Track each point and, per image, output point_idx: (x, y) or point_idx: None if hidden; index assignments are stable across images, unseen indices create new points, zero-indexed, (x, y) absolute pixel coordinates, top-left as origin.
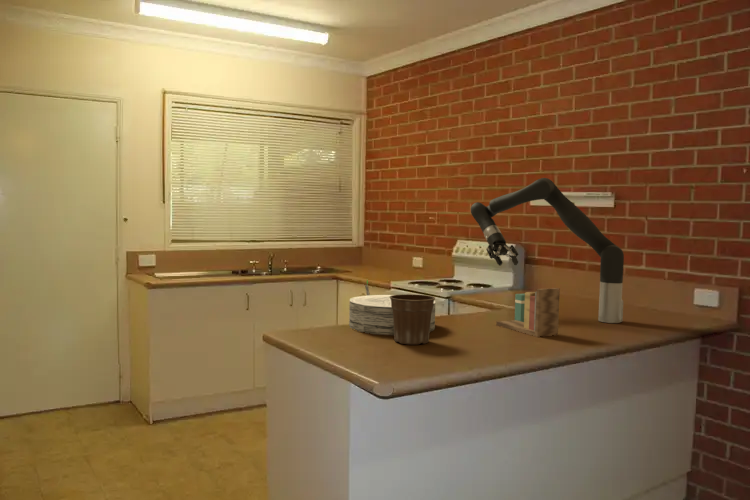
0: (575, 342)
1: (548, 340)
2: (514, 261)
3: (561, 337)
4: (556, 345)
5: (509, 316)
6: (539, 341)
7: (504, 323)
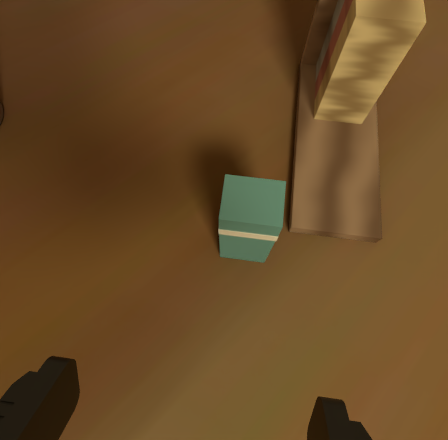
0: None
1: None
2: (50, 423)
3: None
4: None
5: (189, 369)
6: None
7: (376, 198)
